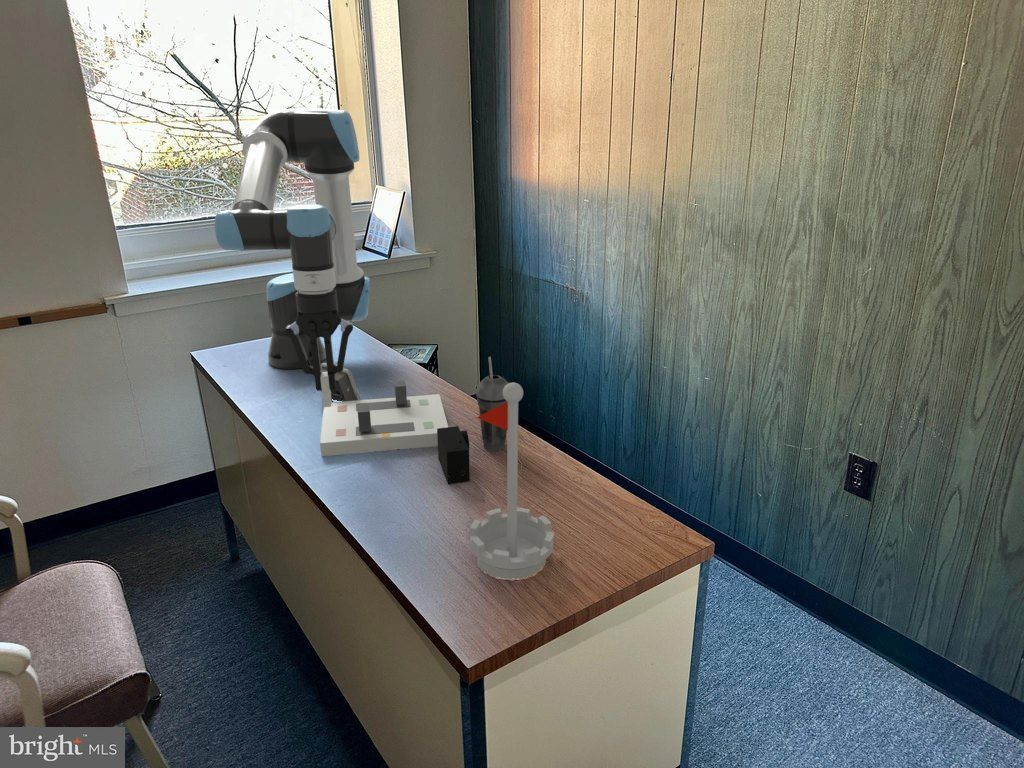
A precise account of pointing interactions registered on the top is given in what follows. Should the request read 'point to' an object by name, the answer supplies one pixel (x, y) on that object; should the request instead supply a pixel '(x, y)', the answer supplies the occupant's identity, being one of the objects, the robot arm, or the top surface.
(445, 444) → the digital camera
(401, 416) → the breaker panel
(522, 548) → the flag stand
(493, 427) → the beverage cup
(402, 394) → the block
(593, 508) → the top surface
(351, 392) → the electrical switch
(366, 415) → the block
